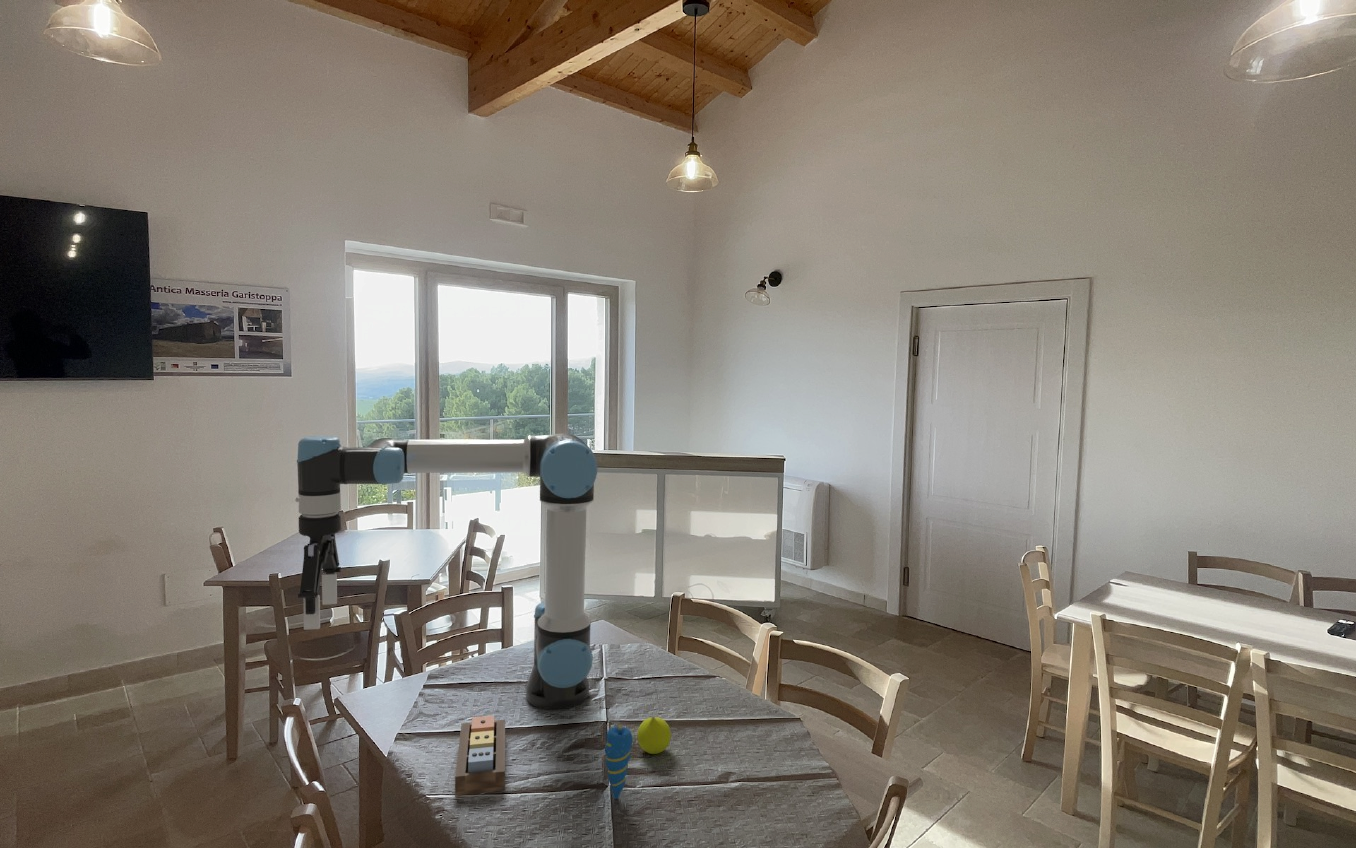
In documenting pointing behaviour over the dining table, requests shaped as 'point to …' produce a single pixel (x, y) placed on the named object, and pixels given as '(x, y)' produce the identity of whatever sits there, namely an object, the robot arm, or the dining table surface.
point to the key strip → (484, 779)
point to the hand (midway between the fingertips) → (321, 615)
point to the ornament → (618, 757)
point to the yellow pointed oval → (654, 735)
